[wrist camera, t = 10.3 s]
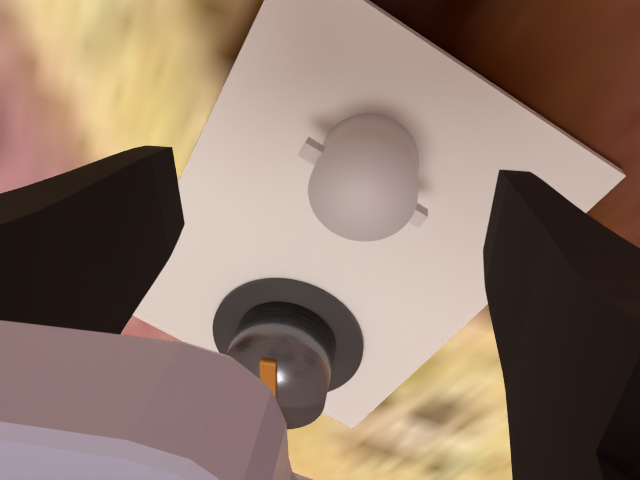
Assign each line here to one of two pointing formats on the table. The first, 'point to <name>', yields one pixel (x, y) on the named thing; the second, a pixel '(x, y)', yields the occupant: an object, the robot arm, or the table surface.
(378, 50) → the board
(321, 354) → the knob
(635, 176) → the table surface
